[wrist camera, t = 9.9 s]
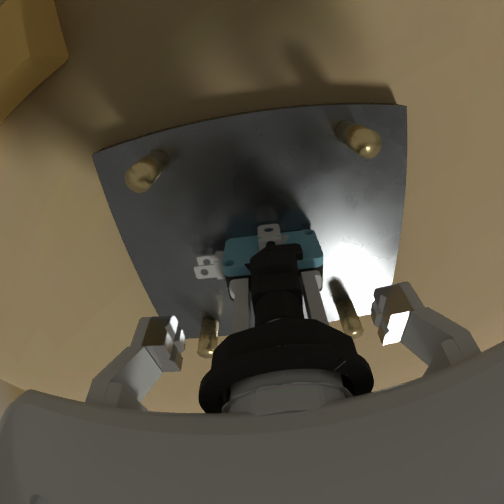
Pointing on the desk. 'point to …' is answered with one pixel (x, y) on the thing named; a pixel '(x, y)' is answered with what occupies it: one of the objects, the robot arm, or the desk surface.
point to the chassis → (261, 203)
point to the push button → (278, 330)
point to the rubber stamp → (27, 49)
